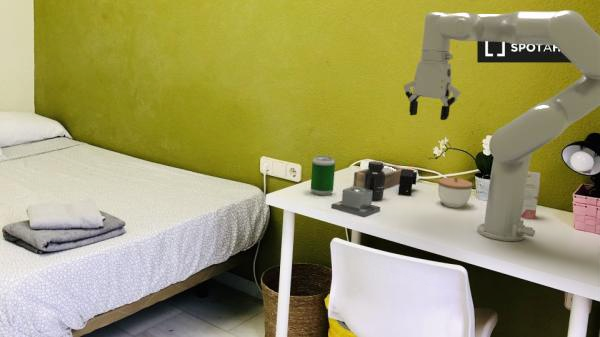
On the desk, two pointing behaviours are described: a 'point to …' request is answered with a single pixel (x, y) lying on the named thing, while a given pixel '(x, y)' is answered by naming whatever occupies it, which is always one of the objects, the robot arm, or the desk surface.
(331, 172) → the soda can
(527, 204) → the ink cartridge box
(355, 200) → the block
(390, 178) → the organizer frame
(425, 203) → the desk surface
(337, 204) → the stand
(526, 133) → the robot arm
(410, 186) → the digital camera
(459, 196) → the lidded jar
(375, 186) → the supplement bottle
